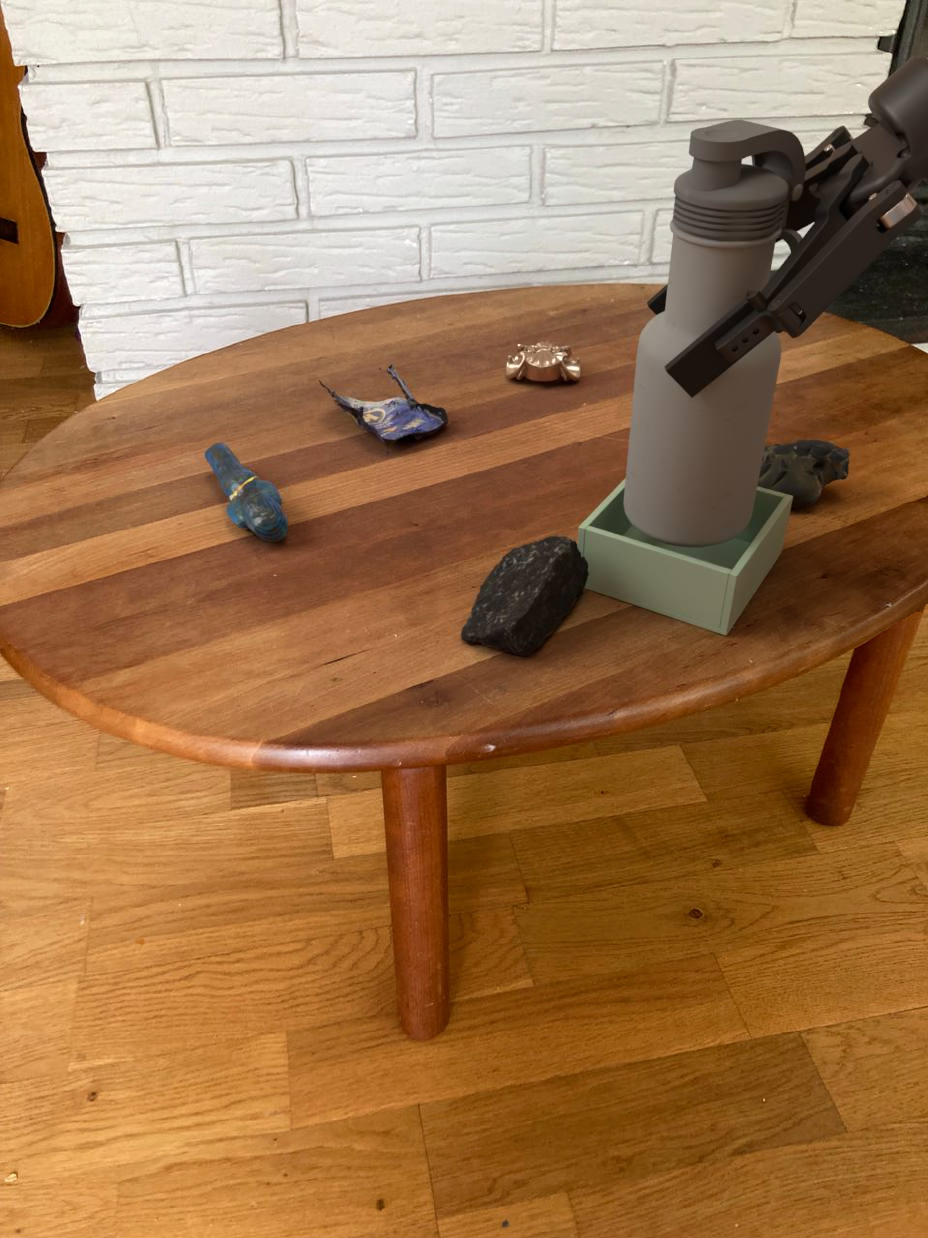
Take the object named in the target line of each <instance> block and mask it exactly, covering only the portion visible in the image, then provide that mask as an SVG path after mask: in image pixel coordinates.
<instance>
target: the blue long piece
mask: <svg viewBox="0 0 928 1238" xmlns="http://www.w3.org/2000/svg"><path fill="white" fill-rule="evenodd" d="M204 458H205V460H206V462H207V463H208V464H209V466H210V467H211V469H212V471H213V473H214V475H215V476H216V478H217V480H218V482H219V485H220V487H221V489H222V491H223V493H224V495H225V497H226V498H227V500H228V501H229V504H228V505H227V507H226V508H225V512H226V515H227V517H228V518H229V520H230V521H231V522H232V523H233V524H234V525H235V526H237V527H239V528H241V529H242V530H250V531H251V532H253V534H255V535H256V536H257V537H259V538H260V539H261V540H263V541H265V542H267V543H277V542H279V541H281V540H283V539H284V538H285V537H286V536H287V533H288V530H289V521H288V517H287V515H286V513H285V511H284V509H283V508H282V504H283V499H282V496H281V494H280V492H279V491H278V489H277V487H276V486H275V485H274V483H272V481H269V480H266V479H265V480H263V479H261V478H260V477H259V476H258V474H257V473H255V472H254V471H253V470H251V469H249V468H248V467H246V466H245V465H244V464H242V462H240V461H239V459H238V458H237V456H236V455H235V453H234V452H233V451H232V450H231V449H230V448H229V446H228V445H227V444H226V443H224V442H216V443H214V444H212V445H211V446H210V447H208V448H207V449H206V450H205V452H204Z"/></svg>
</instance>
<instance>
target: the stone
mask: <svg viewBox="0 0 928 1238" xmlns="http://www.w3.org/2000/svg"><path fill="white" fill-rule="evenodd" d="M850 456H851V453H850V451H849V450H848V449H847V448H842V447H839V446H837V445H836V444H834V443H832V442H829V441H827V440H825V441H823V440H820V439H797V440H796V441H795V442H790V443H784V444H780V443H775V444H769V445H765V447H764V453H763V458H762V464H761V469H760V474H759V480H758V485H757V486H758V487H762V488H765V489H769V490H773V491H776V492H780V493H784V494H788V495H791V496H793V500H792V505H791V509H797V508H805V507H809V506H811V505H813V504H815V503H816V502H817V501H818V499H819V498H820V496H821V495H822V491H823V489H824V488H825V487H827V485H829V484H831V483H832V482H835V481H839V480H842V481H843V480H847V479H848V476H849V474H850V472H849V469H850V467H849V466H850Z"/></svg>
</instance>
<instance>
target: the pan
mask: <svg viewBox="0 0 928 1238" xmlns="http://www.w3.org/2000/svg"><path fill="white" fill-rule="evenodd" d="M625 480H626V477H625V478H624V479H622V481H621V482H620V483H619V484H618V485H617V486H616V487H615V488H614V489H613V491H612V492H610V494H609V495H608V496H606V497H605V499H604V500H602V502H601V503H599V505H598V506H597V507H596V508H595V509H594V510H593V511H592V512H591V513H590V514H589V515H588V517H586V519H584V521H582V523H581V524H579V526H578V530H577V542H576V543H577V548H578V550H579V551H580V552H581V557H585V560H586V561H587V563H588V573H589V575H588V579H587V582H586V585H585V587H584V589H586V590H589V591H592V592H595V593H597V594H601V595H603V596H605V597H606V596H607V597H610V598H612V599H616V600H619V601H622V602H625V603H627V604H630V605H633V606H636V607H638V608H639V607H640V608H642V609H645V610H648V611H650V612H654V613H657V614H660V615H663V616H665V617H669V618H671V619H675V620H677V621H681V622H683V623H687V624H690V625H692V626H696V627H698V628H702V629H705V630H708V631H711V632H713V633H715V634H719V635H723V636H725V637H726V636H728V634H729V633H730V631H731V630H732V628H733V627H734V625H735V624H736V622H737V621H738V619H739V618H740V617H741V615H742V613H743V612H744V610H745V609H746V608H747V606H748V604H749V602H750V601H751V600H752V598H753V596H754V595H755V594H756V592H757V590H758V589H759V587H761V585H762V583H763V581H764V580H765V579H766V577H767V575H768V574H769V572H770V571H771V569H772V568H773V566H774V565H775V564H776V562H777V560H778V559H779V558H780V555H781V554H782V552H783V547H784V543H785V537H786V532H787V527H788V523H789V518H790V514H791V510H792V508H791V505H792V500H793V496H791V495H788V494H784V493H780V492H776V491H773V490H769V489H765V488H762V487H758V486H757V491H756V496H755V502H754V507H753V513H752V517H751V519H750V522H749V524H748V526H747V527H746V528H745V529H744V531H743V532H742V533H741V534H739V535H738V536H737V537H735V538H734V539H732V540H730V541H727V542H725V543H722V544H718V545H714V546H707V547H680V546H674V545H670V544H665V543H662V542H659V541H656V540H654V539H652V538H650V537H648V536H646V535H644V534H643V533H641V532H640V531H638V530H637V529H636V528H635V527H634V526H633V525H632V524H631V523H630V521H629V519H628V517H627V516H626V514H625V510H624V504H623V502H624V491H625Z"/></svg>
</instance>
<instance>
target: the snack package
mask: <svg viewBox="0 0 928 1238" xmlns="http://www.w3.org/2000/svg"><path fill="white" fill-rule="evenodd" d="M381 370H382V368H381V367H380V368H378V371H381ZM386 372H387V374H388V376H391V379H392V380H395V381H396V383H397V385H398V387H399V388H400V390H401V392H402V393H403V395H404V397H399V396H397V397H392V398H386V399H385V400H380V401H369V400H367V401H364V400H359V399H356V398H353V397H351V396H349V395H343V394H341V395H340V396H339V395H337V394H336V392H335V391H331V389H330V388H329V387H328V386H327V385H328V384H324V383H323V382H322V381H321V380H320V379H318V382H319V385H320V386H321V387H322V388H324V390H326V391H327V393H328V394H329V395H330V397H331V398H332V401H333V403H334V404H335V405H336V406H337V407H339V408H340V409H341V411H342V412H343V413H345V414H346V415H347V416H348V417H349V418H350V419H351V420H352V421H354V422H355V424H356V425H357V426H359V428H361V429H363V430H365V431H368V432H370V433H372V434H373V435H375V436H376V437H377V438H378V439H379V440H380V441H381V442H382V443H383V444H384V445H385V446H386V447H387V448H389V447H390V446H392V445H393V444H394V443H396V442H397V441H399V440H400V439H401V440H402V439H403V438H404V437H408V436H412V437H415V440H416V442H418V441H420V440H421V439H424V438H425V437H426V438H427V437H428V436H431V437H432V436H433V435H434V434H436V433H437V432H438V431H439V430H441V428H443V427H444V426H447V425H448V424H449V416H448V413H447V411H446V409H445V408H444V407H441V406H439V407H436V406H433V405H431V404H429V403H419V401H417V400H416V398H415V397H414V396H413V395H412V394H411V392H410V391H409V389H408V383H407V382H406V380H405V379H401V378H400V375H399V372H398V370H397V368H395V367H394V366H393V364H392V363H391V364H390V365H389V366H388V367H386ZM363 375H366V373H365V372H364V373H363ZM352 393H353V394H354V395H357V392H356V391H355V390H352ZM411 444H412V442H410V445H411ZM406 446H409V444H408V443H407V444H406ZM389 453H390V451H387V452H386V454H389Z"/></svg>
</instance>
